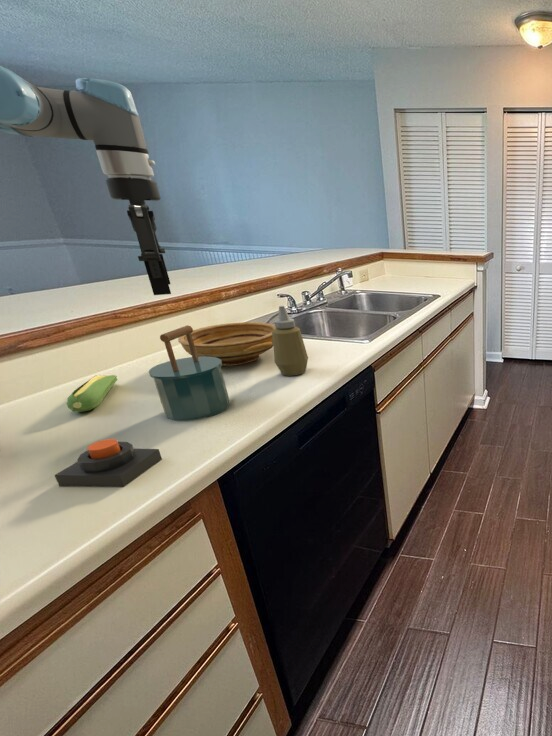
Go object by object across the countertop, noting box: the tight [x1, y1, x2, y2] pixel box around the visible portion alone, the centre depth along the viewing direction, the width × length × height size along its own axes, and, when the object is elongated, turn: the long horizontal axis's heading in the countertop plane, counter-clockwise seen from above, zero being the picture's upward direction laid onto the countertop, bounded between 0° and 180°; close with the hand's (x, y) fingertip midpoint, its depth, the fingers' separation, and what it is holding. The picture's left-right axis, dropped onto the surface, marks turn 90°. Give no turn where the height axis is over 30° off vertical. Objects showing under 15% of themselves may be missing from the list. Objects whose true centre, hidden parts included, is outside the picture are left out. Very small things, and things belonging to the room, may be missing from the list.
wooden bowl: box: [177, 321, 276, 366], centre depth 121 cm, size 30×24×8 cm
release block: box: [54, 441, 163, 488], centre depth 69 cm, size 10×8×4 cm
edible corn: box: [66, 374, 119, 413], centre depth 95 cm, size 5×20×5 cm, turn 27°
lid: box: [148, 325, 223, 379], centre depth 87 cm, size 12×12×9 cm
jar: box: [152, 366, 231, 422], centre depth 90 cm, size 11×11×10 cm
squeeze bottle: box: [272, 305, 309, 377], centre depth 110 cm, size 8×8×18 cm
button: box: [86, 438, 121, 459], centre depth 68 cm, size 4×4×2 cm
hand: (162, 289), depth 89 cm, fingers open, 13 cm apart
